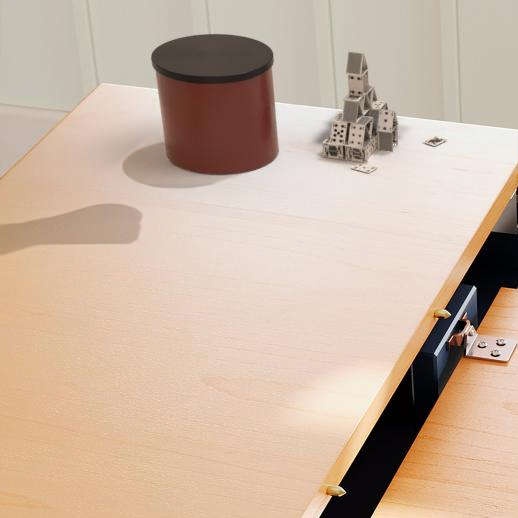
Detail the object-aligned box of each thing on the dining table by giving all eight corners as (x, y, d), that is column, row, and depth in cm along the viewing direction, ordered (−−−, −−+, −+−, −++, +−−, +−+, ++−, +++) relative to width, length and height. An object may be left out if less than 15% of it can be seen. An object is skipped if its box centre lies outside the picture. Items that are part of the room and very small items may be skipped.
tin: (158, 176, 123) (145, 76, 118) (169, 129, 130) (157, 33, 125) (279, 175, 124) (270, 76, 119) (283, 129, 131) (275, 34, 126)
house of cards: (416, 180, 124) (414, 86, 120) (313, 165, 126) (307, 71, 121) (449, 138, 131) (448, 47, 127) (351, 124, 133) (346, 34, 128)
